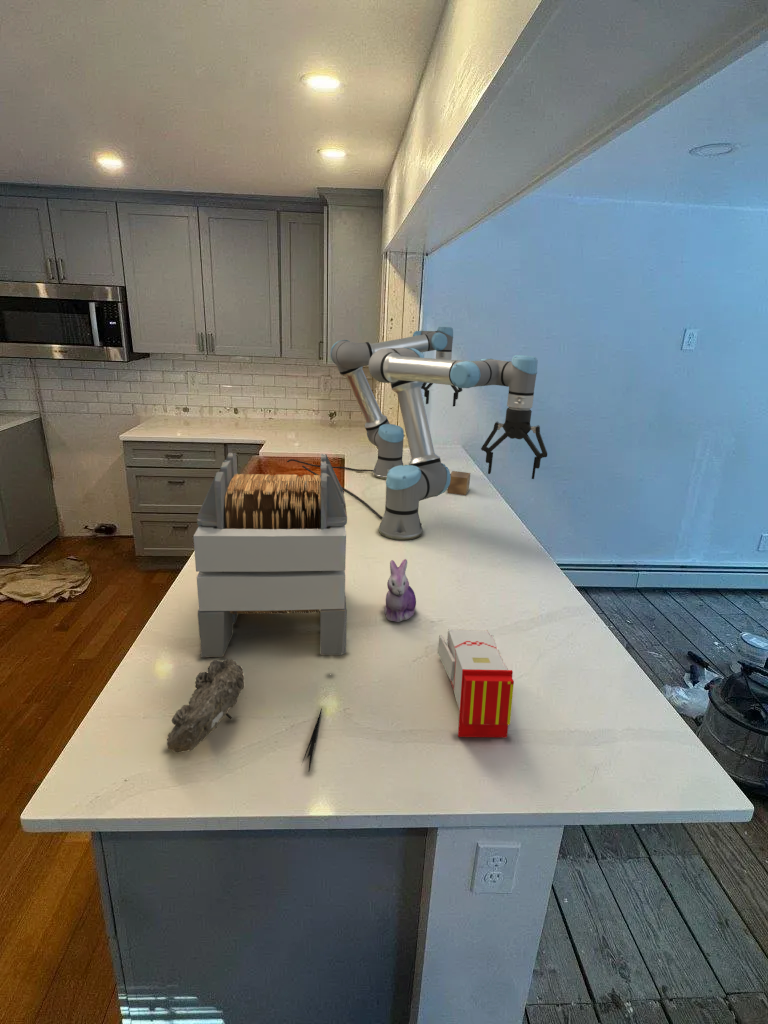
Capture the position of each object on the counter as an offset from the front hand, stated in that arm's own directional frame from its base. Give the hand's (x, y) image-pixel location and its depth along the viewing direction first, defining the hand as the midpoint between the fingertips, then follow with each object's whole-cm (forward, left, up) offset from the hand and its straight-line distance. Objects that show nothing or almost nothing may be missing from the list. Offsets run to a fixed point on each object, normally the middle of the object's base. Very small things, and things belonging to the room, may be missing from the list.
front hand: (510, 475), depth 180 cm
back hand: (-90, +61, +4) cm, 109 cm away
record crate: (-6, -81, -26) cm, 86 cm away
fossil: (+17, -110, -26) cm, 114 cm away
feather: (+30, -94, -26) cm, 102 cm away
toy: (+42, -65, -26) cm, 82 cm away
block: (-54, +38, -26) cm, 71 cm away
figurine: (+10, -55, -26) cm, 62 cm away
